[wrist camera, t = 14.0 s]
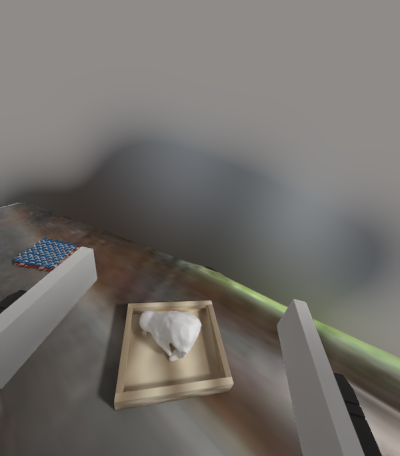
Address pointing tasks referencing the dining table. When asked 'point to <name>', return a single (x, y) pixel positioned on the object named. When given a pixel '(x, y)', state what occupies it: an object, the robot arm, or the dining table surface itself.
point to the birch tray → (170, 370)
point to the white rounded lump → (172, 331)
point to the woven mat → (46, 255)
